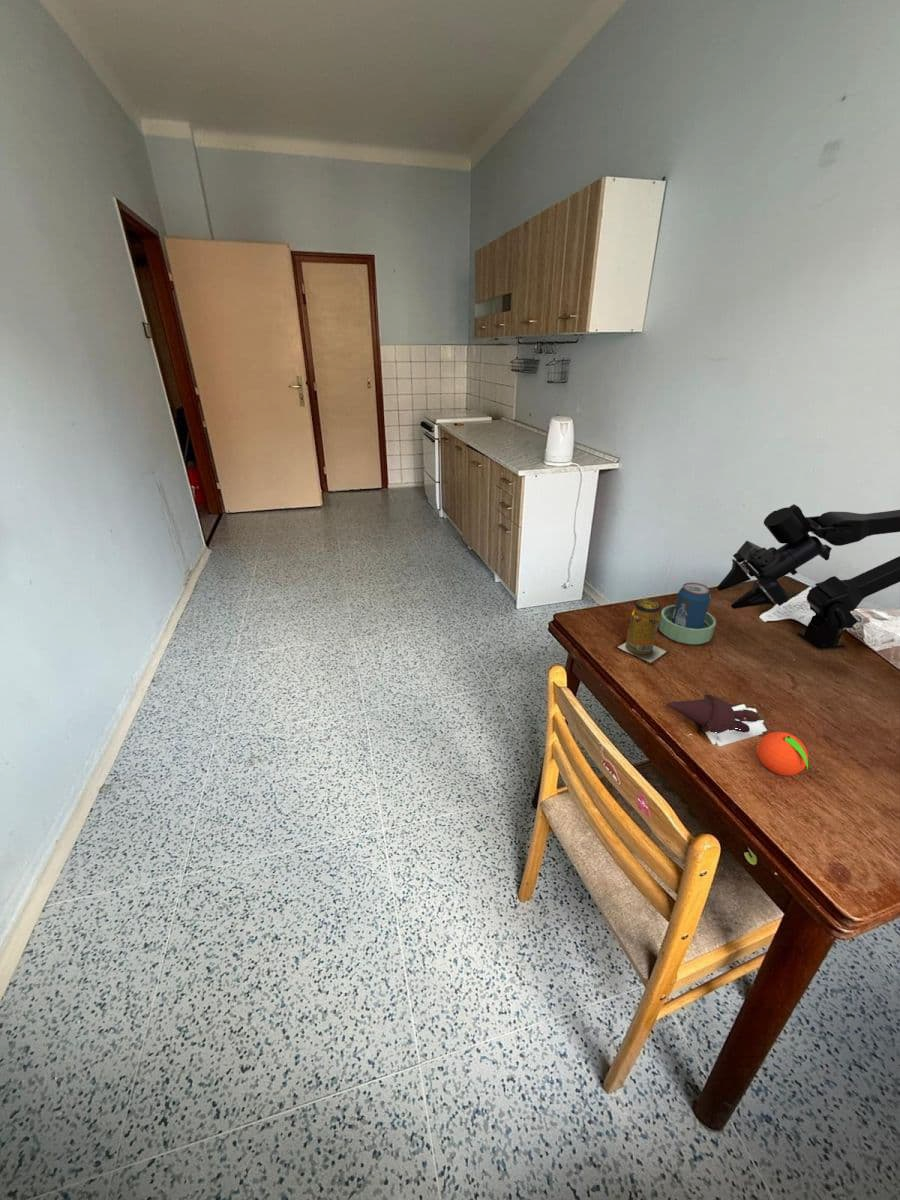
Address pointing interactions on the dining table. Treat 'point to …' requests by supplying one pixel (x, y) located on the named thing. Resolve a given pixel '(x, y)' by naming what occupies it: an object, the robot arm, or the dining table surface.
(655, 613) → the condiment
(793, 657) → the dining table surface
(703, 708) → the icecream
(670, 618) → the pale green shallow bowl
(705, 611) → the soda can
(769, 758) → the clementine
